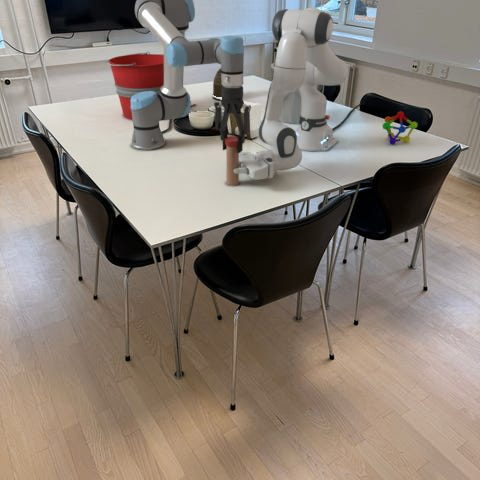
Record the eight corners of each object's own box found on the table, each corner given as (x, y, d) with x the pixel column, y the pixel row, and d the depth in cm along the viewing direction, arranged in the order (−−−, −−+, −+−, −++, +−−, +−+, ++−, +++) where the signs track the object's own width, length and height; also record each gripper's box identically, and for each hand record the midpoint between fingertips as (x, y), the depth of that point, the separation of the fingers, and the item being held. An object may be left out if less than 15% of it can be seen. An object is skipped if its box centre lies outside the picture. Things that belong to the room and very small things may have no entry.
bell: (227, 105, 294) (202, 96, 282) (238, 66, 289) (213, 55, 277) (243, 108, 280) (217, 98, 268) (255, 66, 275) (229, 55, 263)
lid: (242, 142, 164) (242, 137, 163) (237, 147, 160) (237, 142, 159) (227, 140, 166) (227, 135, 165) (222, 145, 161) (222, 140, 160)
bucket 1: (122, 105, 264) (115, 51, 248) (181, 105, 263) (177, 51, 248) (106, 122, 235) (96, 62, 219) (171, 123, 234) (167, 63, 218)
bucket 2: (296, 131, 225) (301, 73, 210) (257, 117, 244) (258, 64, 229) (334, 119, 242) (340, 65, 227) (294, 108, 260) (297, 57, 246)
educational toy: (377, 146, 209) (379, 114, 202) (384, 138, 219) (386, 107, 211) (411, 149, 202) (415, 116, 195) (417, 141, 212) (420, 109, 204)
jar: (241, 184, 171) (241, 141, 161) (230, 186, 169) (230, 143, 159) (234, 179, 174) (234, 137, 165) (224, 182, 172) (223, 139, 163)
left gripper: (203, 85, 152) (205, 149, 165) (252, 91, 146) (251, 157, 158) (213, 80, 158) (215, 143, 170) (261, 86, 151) (259, 151, 164)
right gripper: (251, 146, 179) (220, 151, 174) (275, 164, 163) (241, 169, 158) (251, 161, 182) (220, 166, 177) (274, 179, 166) (241, 186, 161)
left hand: (232, 150), depth 164 cm, fingers closed on lid, 5 cm apart
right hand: (230, 168), depth 167 cm, fingers closed on jar, 5 cm apart
